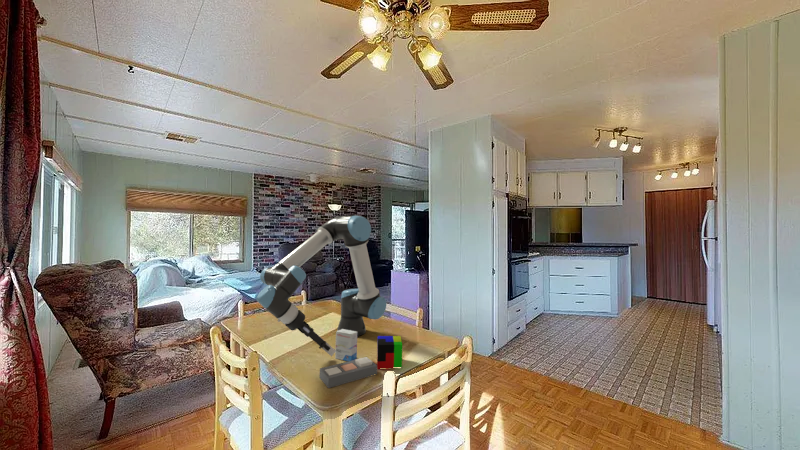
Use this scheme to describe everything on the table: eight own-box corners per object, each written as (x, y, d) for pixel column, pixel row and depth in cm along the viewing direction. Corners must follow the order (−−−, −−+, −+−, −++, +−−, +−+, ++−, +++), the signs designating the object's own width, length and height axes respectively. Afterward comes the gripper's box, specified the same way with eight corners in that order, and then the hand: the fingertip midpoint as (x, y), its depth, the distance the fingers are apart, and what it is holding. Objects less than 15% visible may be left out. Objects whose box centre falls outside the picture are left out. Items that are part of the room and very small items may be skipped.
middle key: (351, 369, 125) (352, 362, 125) (357, 374, 121) (357, 367, 121) (340, 372, 122) (340, 365, 122) (345, 377, 118) (345, 371, 118)
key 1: (336, 373, 121) (336, 366, 121) (342, 378, 117) (342, 371, 117) (324, 376, 118) (324, 369, 118) (329, 382, 114) (329, 375, 114)
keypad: (366, 365, 131) (366, 357, 131) (377, 374, 123) (377, 365, 123) (319, 377, 120) (319, 368, 120) (328, 388, 112) (328, 378, 112)
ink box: (357, 357, 138) (358, 331, 138) (351, 362, 133) (351, 334, 133) (341, 354, 141) (342, 327, 141) (334, 358, 137) (335, 331, 137)
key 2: (366, 362, 128) (366, 356, 128) (372, 367, 124) (372, 361, 124) (355, 365, 126) (355, 359, 126) (360, 370, 122) (361, 364, 122)
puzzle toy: (377, 358, 137) (377, 336, 137) (399, 358, 138) (400, 336, 138) (377, 369, 127) (377, 344, 127) (401, 369, 128) (402, 344, 128)
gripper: (276, 316, 132) (310, 345, 141) (293, 334, 112) (332, 366, 120) (290, 302, 135) (322, 331, 144) (308, 317, 115) (345, 350, 123)
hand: (327, 347), depth 132 cm, fingers open, 13 cm apart
